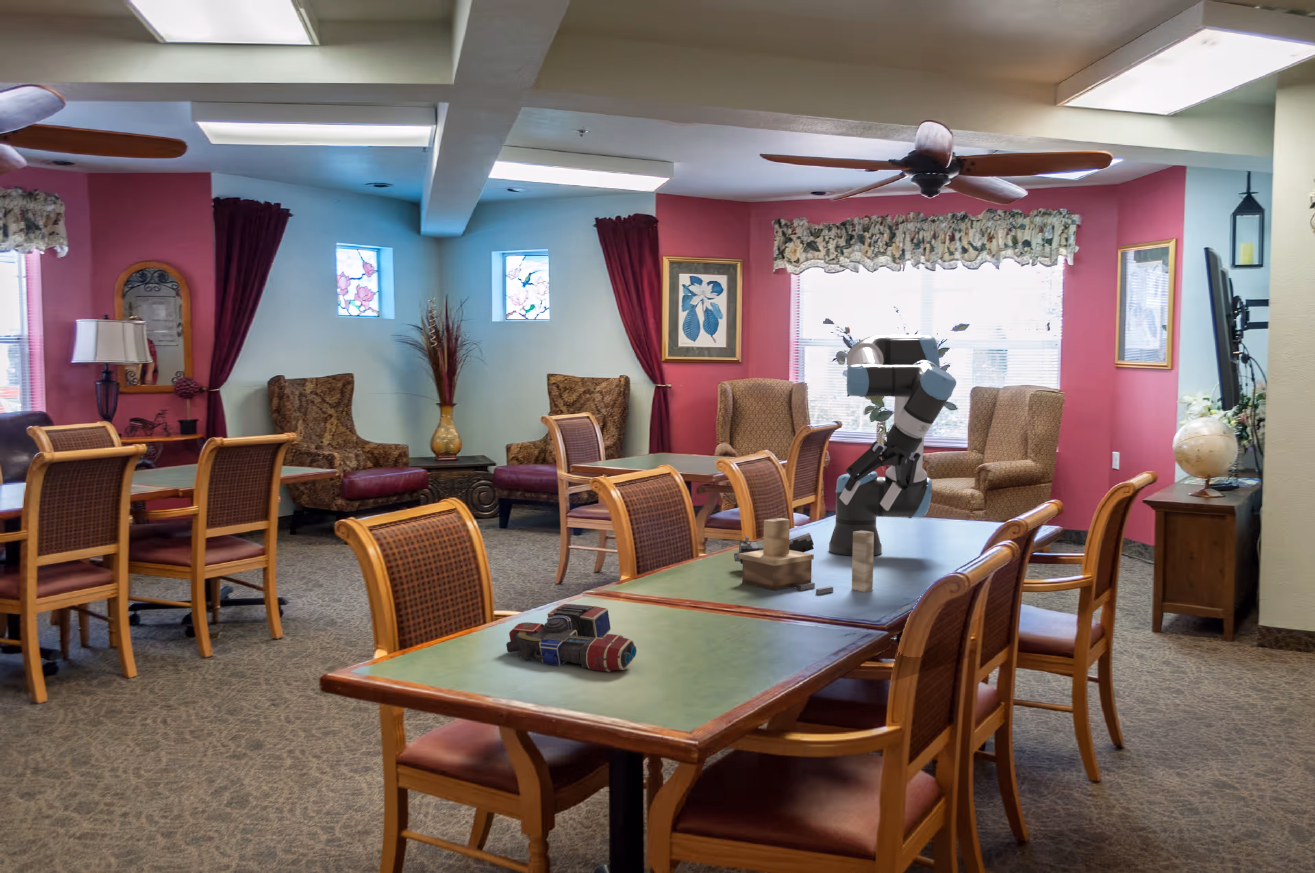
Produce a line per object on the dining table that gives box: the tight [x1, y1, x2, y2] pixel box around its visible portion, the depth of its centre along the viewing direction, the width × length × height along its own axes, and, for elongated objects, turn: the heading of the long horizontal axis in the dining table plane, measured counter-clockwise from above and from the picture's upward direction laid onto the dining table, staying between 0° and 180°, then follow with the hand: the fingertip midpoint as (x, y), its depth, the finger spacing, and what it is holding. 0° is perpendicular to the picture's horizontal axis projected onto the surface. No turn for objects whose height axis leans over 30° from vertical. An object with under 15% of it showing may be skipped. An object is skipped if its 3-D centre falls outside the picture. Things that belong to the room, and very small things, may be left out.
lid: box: [739, 517, 815, 566], centre depth 244 cm, size 14×12×10 cm
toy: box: [733, 532, 815, 565], centre depth 259 cm, size 7×21×10 cm, turn 89°
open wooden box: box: [741, 559, 813, 591], centre depth 244 cm, size 13×11×6 cm
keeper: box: [791, 581, 834, 596], centre depth 237 cm, size 5×10×1 cm, turn 40°
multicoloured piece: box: [505, 603, 637, 673], centre depth 181 cm, size 8×25×20 cm
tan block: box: [851, 530, 874, 593], centre depth 237 cm, size 4×4×14 cm
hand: (863, 504), depth 236 cm, fingers open, 13 cm apart
